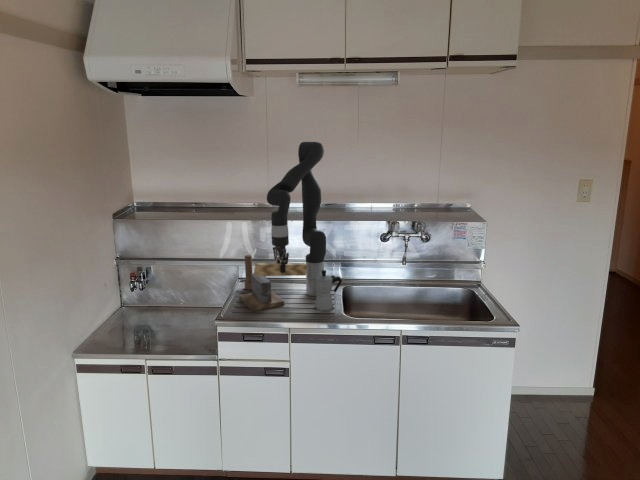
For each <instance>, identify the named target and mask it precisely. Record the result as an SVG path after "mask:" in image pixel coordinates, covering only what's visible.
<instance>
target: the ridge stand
mask: <svg viewBox="0 0 640 480" xmlns="http://www.w3.org/2000/svg"><path fill="white" fill-rule="evenodd" d="M253 274H254V273H253ZM251 284H252V290H251V292H247V293H242V294H239V299H240V301H242V302H243V303H244V304H245V306H246V307H248V309H249V310H250V311H251V312H255V311H259V310H260V311H261V310H266V309H270V308H271V309H272V308H276V307H280V306H281V307H282V306H285V300H283V299H282V298H281V297H280V296H279V295H277V293H275V292H274V291H273V290H272V281H271V280H269V279H268V278H267V276H265V277H264V276H256V275H255V274H254V275H251Z"/></svg>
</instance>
